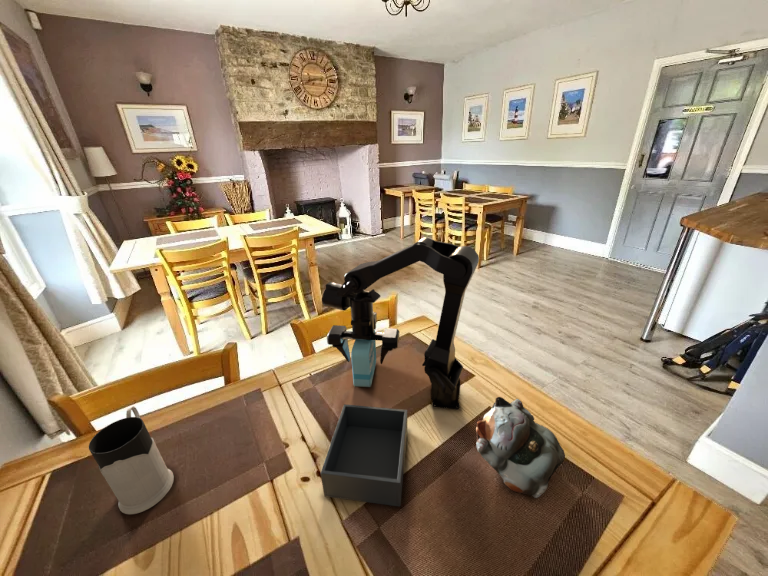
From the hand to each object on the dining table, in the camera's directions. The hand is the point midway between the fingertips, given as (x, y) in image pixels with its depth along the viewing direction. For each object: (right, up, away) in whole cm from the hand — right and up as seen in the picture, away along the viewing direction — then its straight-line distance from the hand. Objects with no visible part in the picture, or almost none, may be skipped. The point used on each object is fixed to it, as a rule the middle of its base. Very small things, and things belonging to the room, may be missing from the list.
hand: (365, 362), depth 86 cm
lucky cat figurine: (+31, -15, -24) cm, 42 cm away
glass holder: (-42, -17, -24) cm, 51 cm away
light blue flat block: (0, -4, +2) cm, 5 cm away
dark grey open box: (+2, -15, -22) cm, 27 cm away
